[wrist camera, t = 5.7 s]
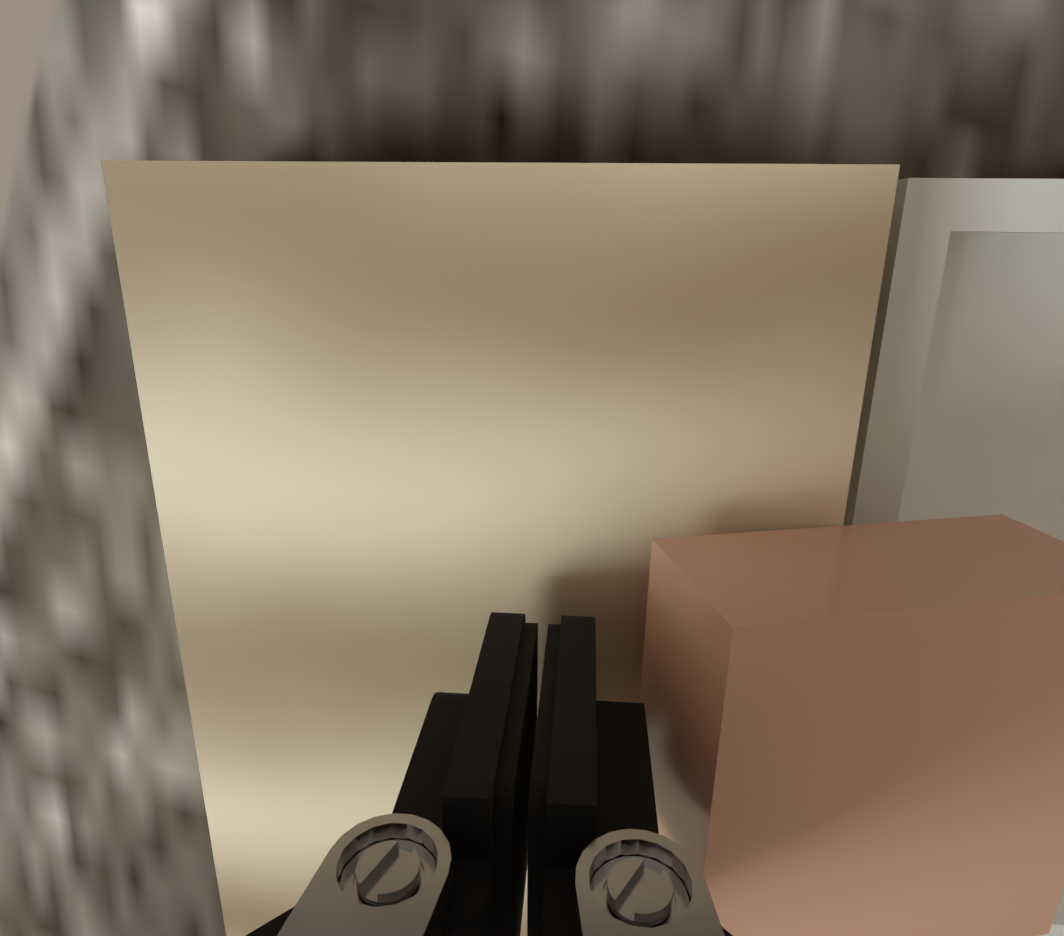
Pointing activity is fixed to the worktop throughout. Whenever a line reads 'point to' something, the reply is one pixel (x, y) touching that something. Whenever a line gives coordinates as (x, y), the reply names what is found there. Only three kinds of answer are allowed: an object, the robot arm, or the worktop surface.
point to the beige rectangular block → (461, 434)
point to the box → (967, 361)
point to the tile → (863, 725)
